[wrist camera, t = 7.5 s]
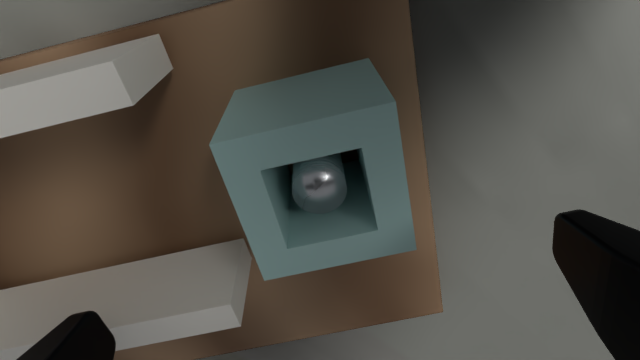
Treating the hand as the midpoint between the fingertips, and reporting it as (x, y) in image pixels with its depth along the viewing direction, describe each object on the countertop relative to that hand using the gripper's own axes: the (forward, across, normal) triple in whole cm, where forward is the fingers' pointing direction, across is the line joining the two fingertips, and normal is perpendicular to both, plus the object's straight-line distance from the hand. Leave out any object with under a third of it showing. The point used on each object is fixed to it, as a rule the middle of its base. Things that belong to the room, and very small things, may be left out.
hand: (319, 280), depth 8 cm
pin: (+8, 0, 0) cm, 8 cm away
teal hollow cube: (+6, 0, 0) cm, 7 cm away
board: (+8, +5, +2) cm, 9 cm away
